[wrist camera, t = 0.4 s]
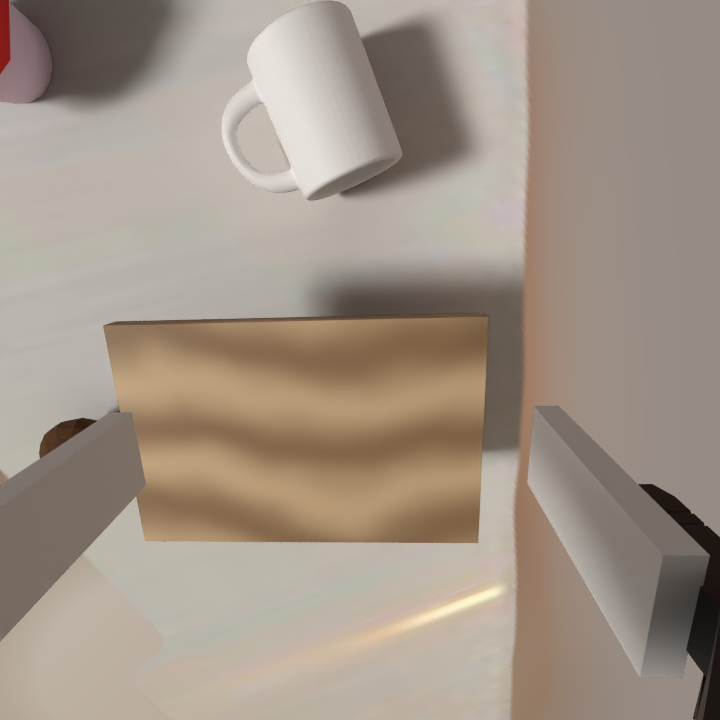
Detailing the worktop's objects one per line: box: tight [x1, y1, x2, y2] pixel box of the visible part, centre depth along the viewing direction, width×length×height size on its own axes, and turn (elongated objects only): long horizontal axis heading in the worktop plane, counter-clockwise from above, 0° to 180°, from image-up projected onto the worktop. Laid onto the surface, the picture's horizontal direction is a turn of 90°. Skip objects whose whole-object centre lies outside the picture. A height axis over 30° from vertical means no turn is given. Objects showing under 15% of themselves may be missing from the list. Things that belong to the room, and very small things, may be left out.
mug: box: [221, 1, 403, 201], centre depth 32 cm, size 12×10×8 cm
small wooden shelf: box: [103, 313, 489, 543], centre depth 35 cm, size 16×24×13 cm, turn 92°
